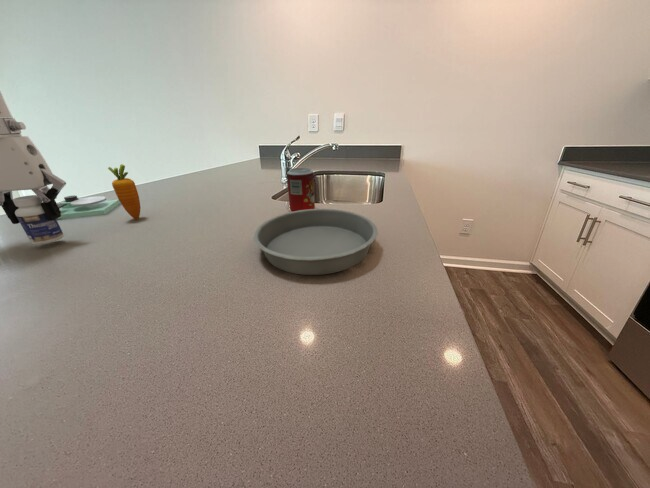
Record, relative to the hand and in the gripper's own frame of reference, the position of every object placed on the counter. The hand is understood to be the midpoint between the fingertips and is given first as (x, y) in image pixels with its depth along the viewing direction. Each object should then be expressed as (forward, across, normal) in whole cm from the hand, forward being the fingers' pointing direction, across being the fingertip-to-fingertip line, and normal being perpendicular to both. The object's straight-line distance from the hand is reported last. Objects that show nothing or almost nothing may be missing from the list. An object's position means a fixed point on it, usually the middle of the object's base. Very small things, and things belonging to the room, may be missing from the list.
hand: (37, 219), depth 56 cm
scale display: (+4, +9, -23) cm, 25 cm away
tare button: (+4, +9, -30) cm, 32 cm away
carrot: (+6, -14, -12) cm, 19 cm away
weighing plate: (+3, +2, -26) cm, 26 cm away
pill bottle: (+5, 0, 0) cm, 5 cm away
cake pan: (+5, -57, +22) cm, 61 cm away
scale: (+7, +4, -27) cm, 28 cm away
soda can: (+5, -59, 0) cm, 59 cm away
